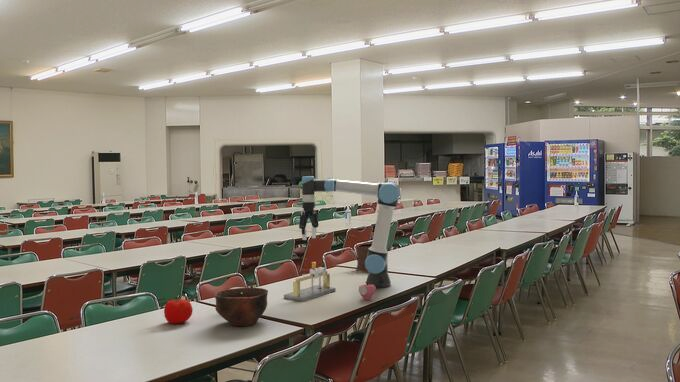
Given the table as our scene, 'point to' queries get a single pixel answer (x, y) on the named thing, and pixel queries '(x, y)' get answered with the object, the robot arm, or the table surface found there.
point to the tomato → (177, 311)
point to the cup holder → (361, 255)
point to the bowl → (241, 305)
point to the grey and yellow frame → (307, 292)
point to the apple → (367, 291)
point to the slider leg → (312, 271)
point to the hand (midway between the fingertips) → (309, 239)
